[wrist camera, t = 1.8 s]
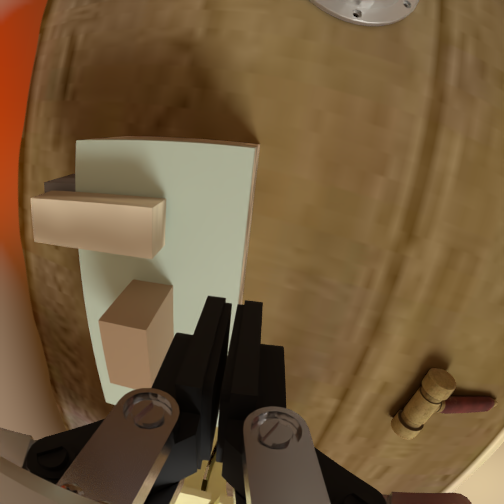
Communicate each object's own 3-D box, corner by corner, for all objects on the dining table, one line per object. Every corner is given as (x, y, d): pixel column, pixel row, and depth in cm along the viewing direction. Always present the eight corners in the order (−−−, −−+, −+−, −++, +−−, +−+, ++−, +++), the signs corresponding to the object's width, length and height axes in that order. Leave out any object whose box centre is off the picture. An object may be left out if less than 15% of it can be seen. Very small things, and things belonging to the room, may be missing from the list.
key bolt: (52, 190, 19) (30, 198, 17) (166, 198, 19) (152, 207, 17) (54, 230, 20) (34, 241, 18) (165, 244, 20) (151, 259, 18)
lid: (85, 139, 19) (23, 147, 13) (255, 147, 19) (247, 152, 13) (110, 394, 28) (85, 442, 22) (226, 418, 28) (217, 475, 21)
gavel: (520, 389, 32) (484, 432, 36) (507, 372, 37) (474, 414, 40) (438, 388, 30) (395, 440, 34) (424, 365, 34) (386, 416, 38)
